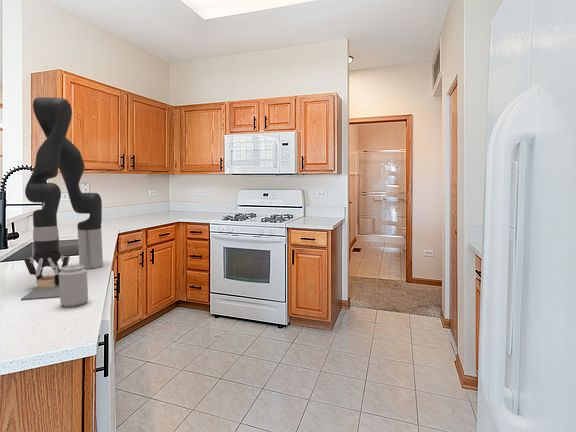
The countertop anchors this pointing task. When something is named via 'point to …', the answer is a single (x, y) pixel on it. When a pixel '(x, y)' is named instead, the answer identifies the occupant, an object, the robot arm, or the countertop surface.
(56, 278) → the robot arm
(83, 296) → the can
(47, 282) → the beige rectangular block
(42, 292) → the mat
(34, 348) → the countertop surface
